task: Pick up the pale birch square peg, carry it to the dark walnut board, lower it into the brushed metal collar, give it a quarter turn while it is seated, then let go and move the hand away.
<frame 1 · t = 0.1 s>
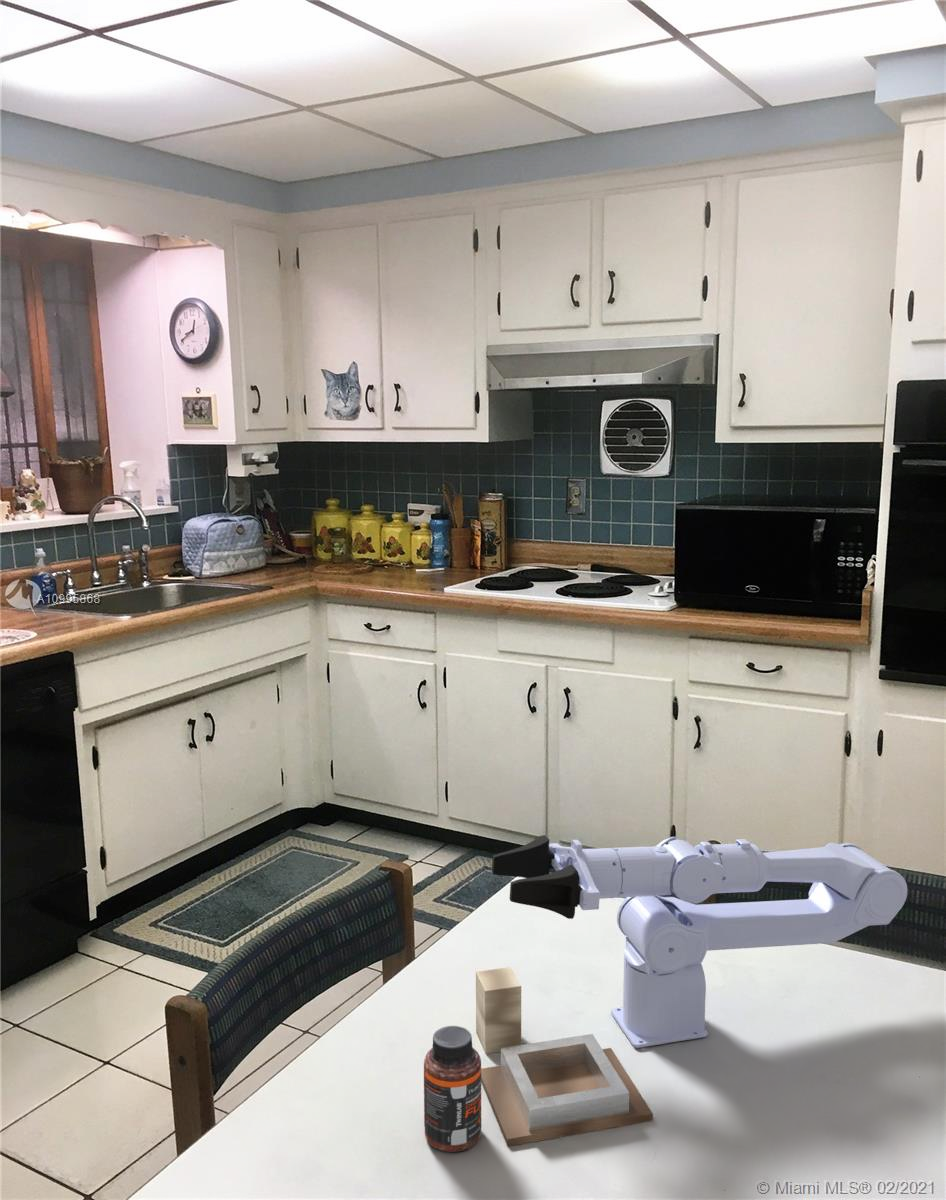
hand: (501, 877, 118), 22 cm above the table, tool horizontal, fingers open, 7 cm apart
supplement bottle: (453, 1137, 107), on the table
peg: (498, 1040, 124), on the table
collar board: (562, 1097, 113), on the table
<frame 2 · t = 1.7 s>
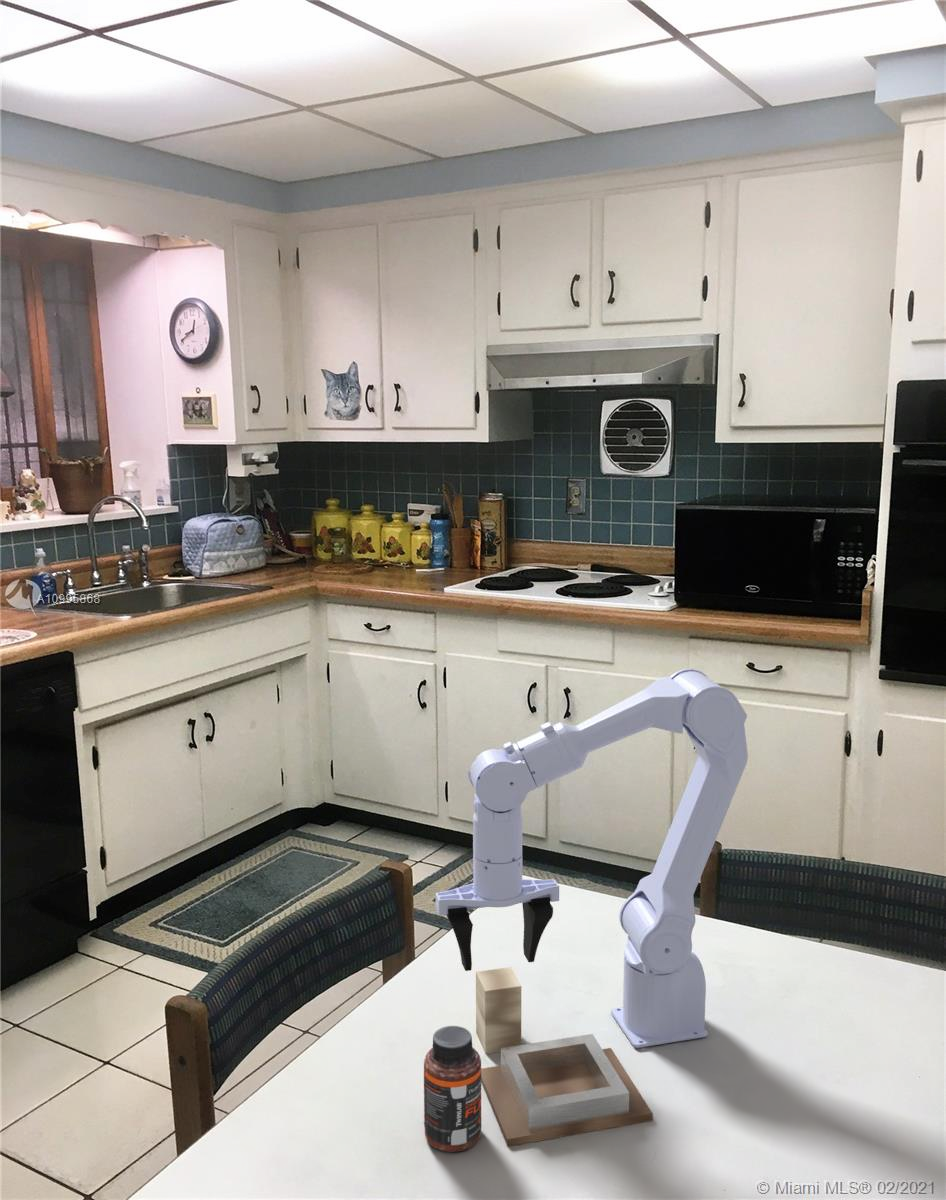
hand: (498, 962, 122), 10 cm above the table, tool pointing down, fingers open, 7 cm apart
nothing on the table moved.
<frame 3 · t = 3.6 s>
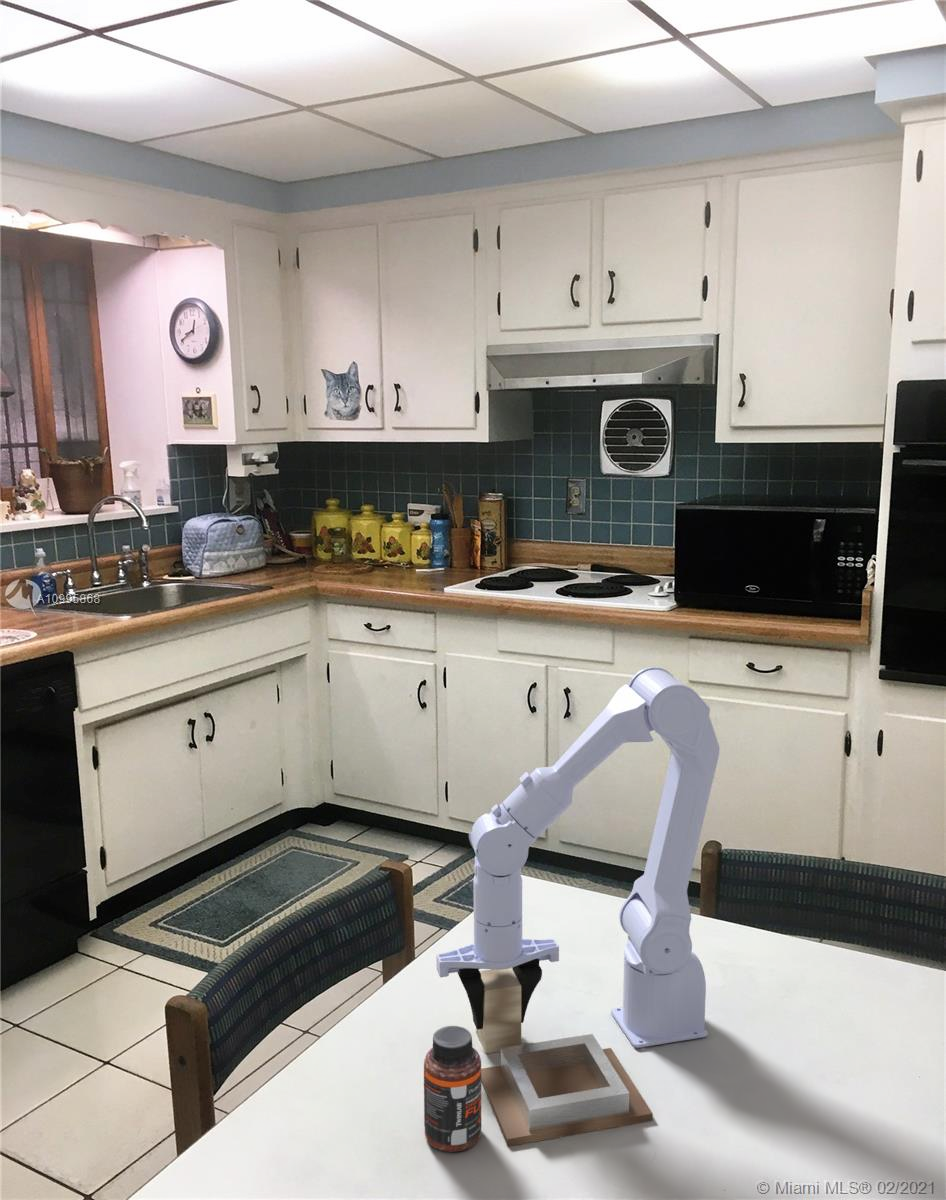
hand: (498, 1021, 123), 2 cm above the table, tool pointing down, fingers closed on peg, 4 cm apart
peg: (498, 1040, 124), on the table, touching gripper
everything else where it was.
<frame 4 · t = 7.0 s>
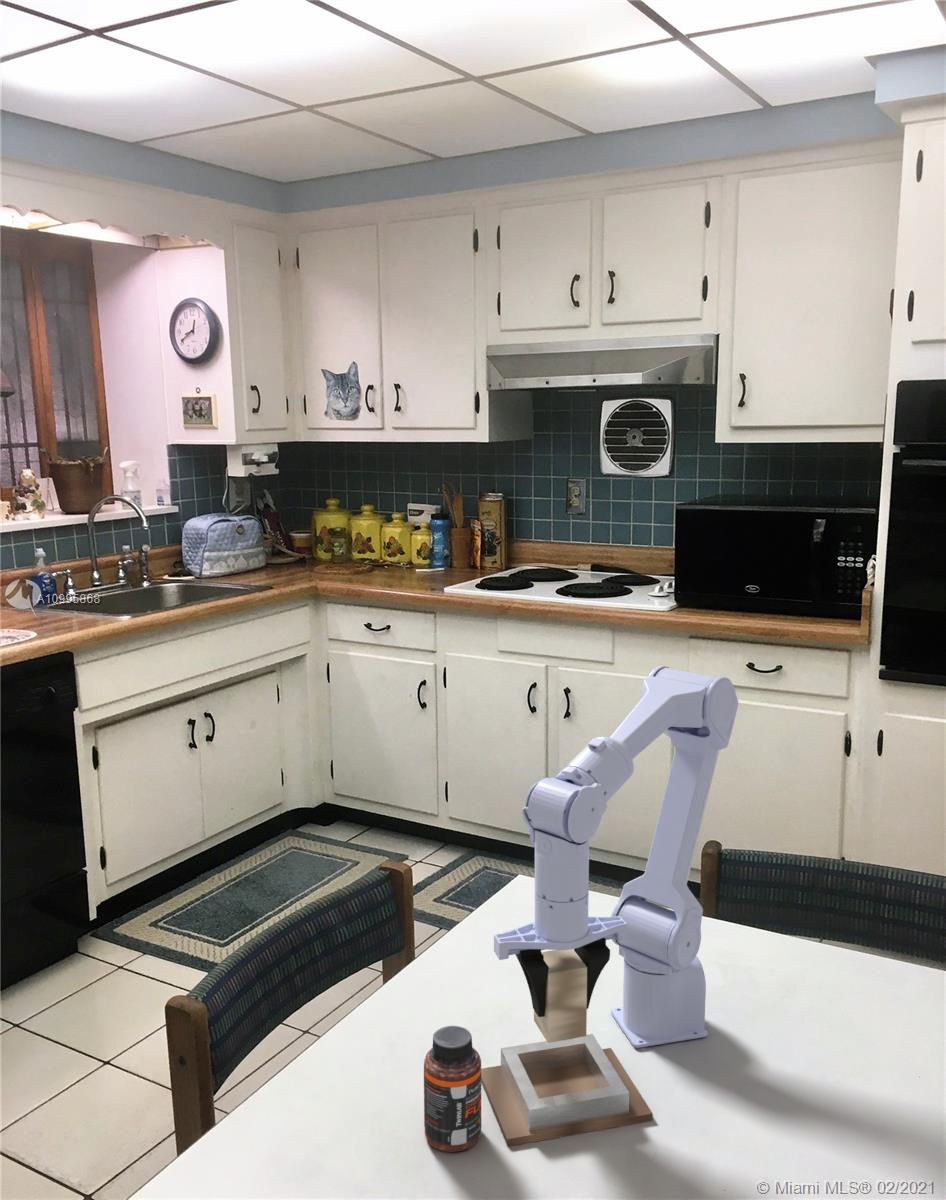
hand: (560, 1008, 112), 10 cm above the table, tool pointing down, fingers closed on peg, 4 cm apart
peg: (559, 1028, 113), point 8 cm above the table, touching gripper
everything else where it was.
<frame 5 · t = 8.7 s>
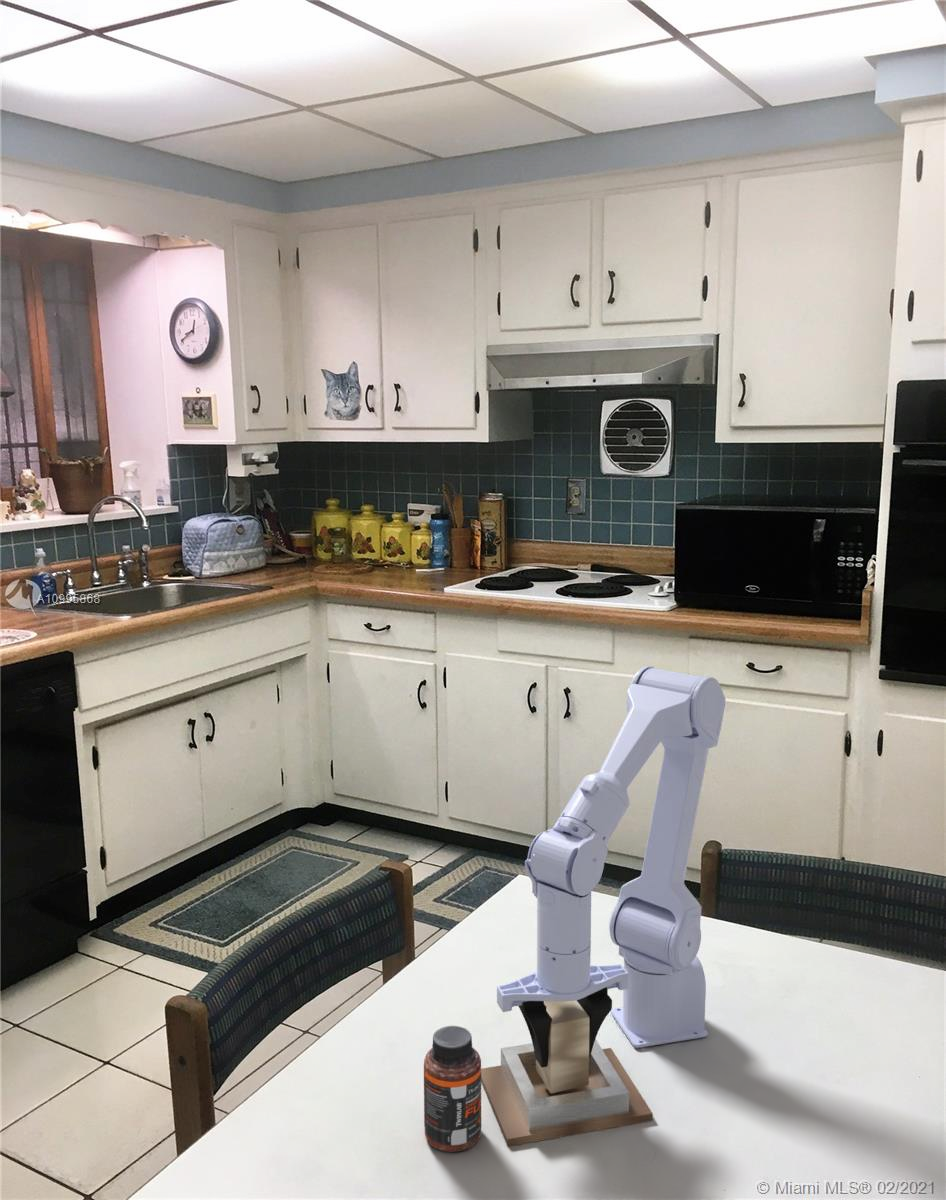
hand: (562, 1057, 113), 5 cm above the table, tool pointing down, fingers closed on peg, 4 cm apart
peg: (561, 1077, 113), point 2 cm above the table, touching gripper
everything else where it was.
when the fingers open (4 cm above the table, at t = 10.5 s): peg stays where it is, resting on collar board.
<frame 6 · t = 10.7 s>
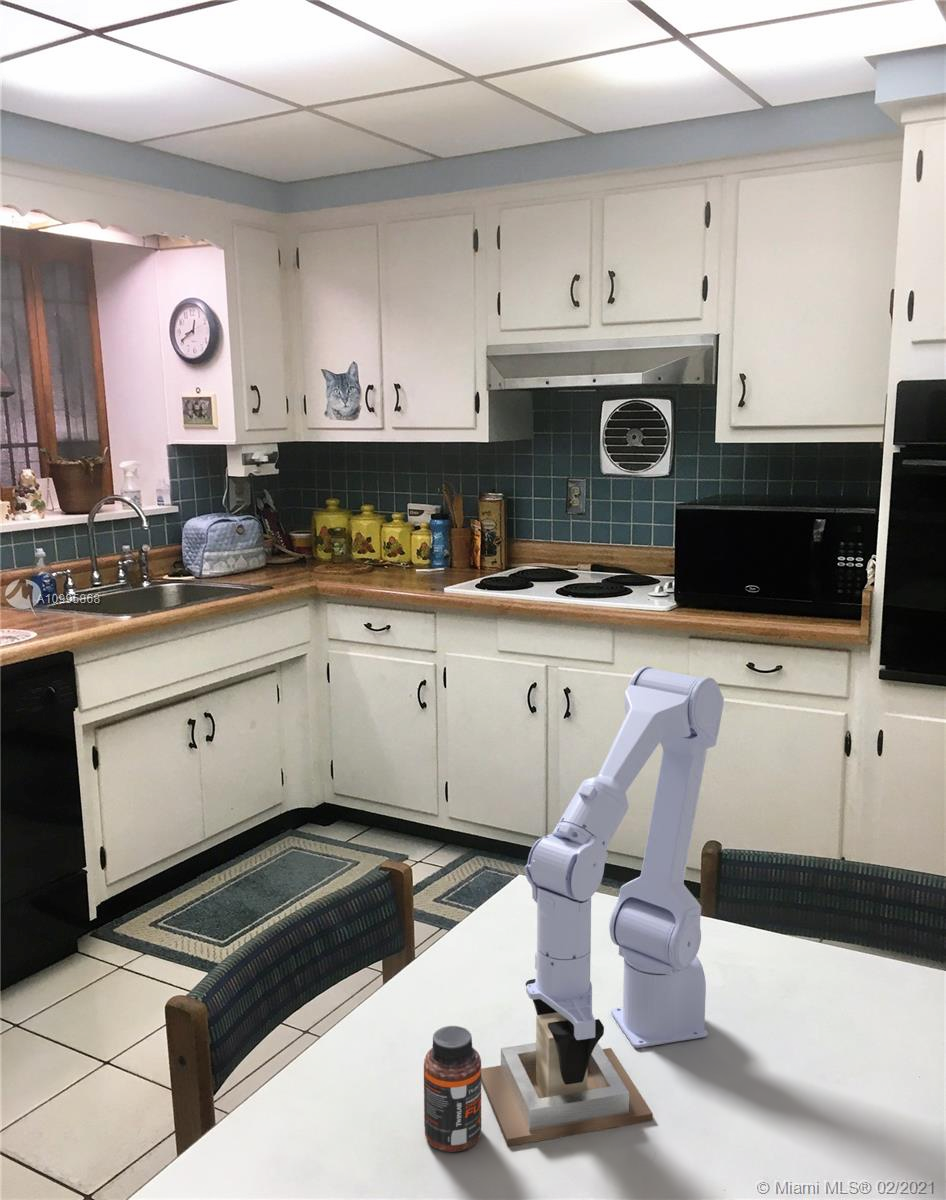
hand: (562, 1062, 113), 4 cm above the table, tool pointing down, fingers open, 6 cm apart
peg: (561, 1090, 113), point 1 cm above the table, touching collar board
everything else where it was.
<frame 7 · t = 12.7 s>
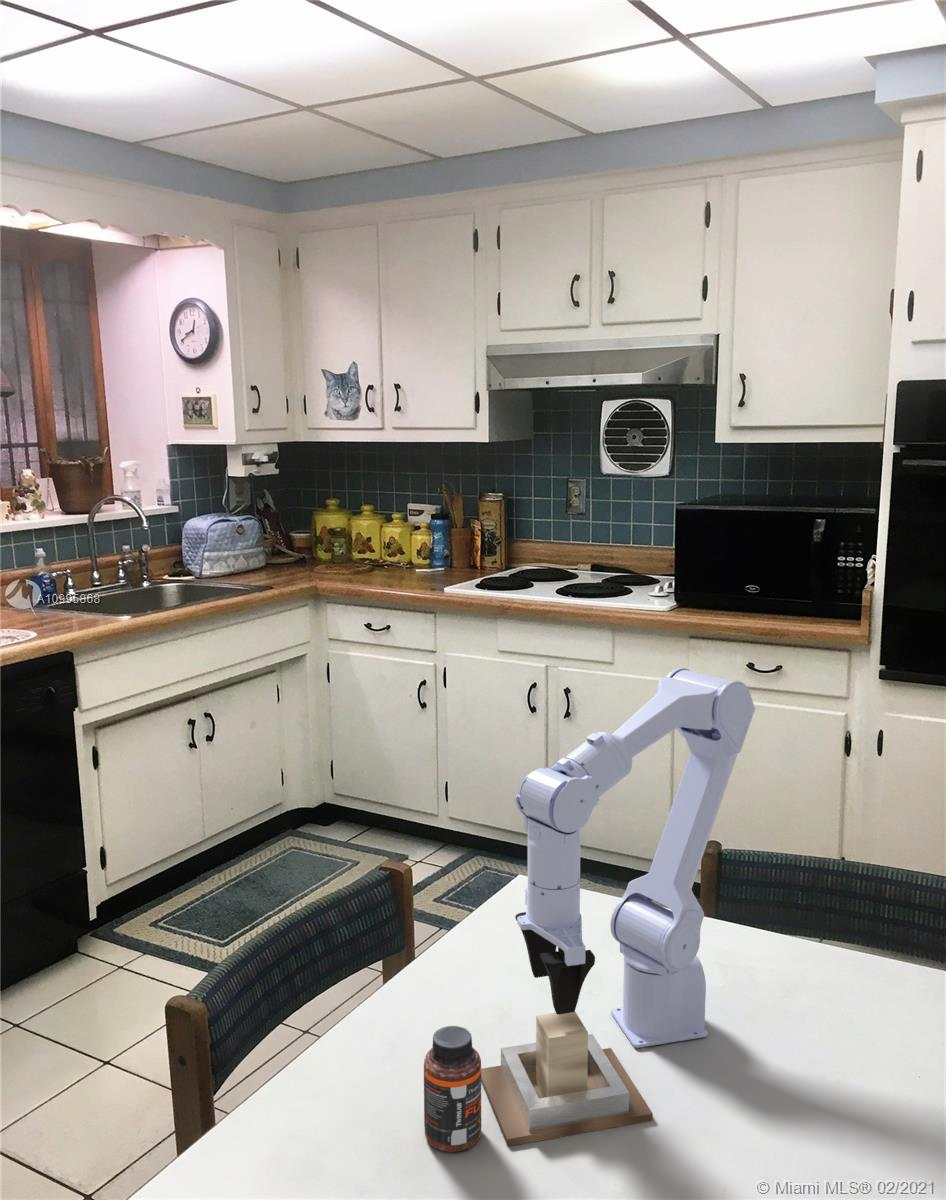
hand: (553, 992, 115), 10 cm above the table, tool pointing down, fingers open, 7 cm apart
nothing on the table moved.
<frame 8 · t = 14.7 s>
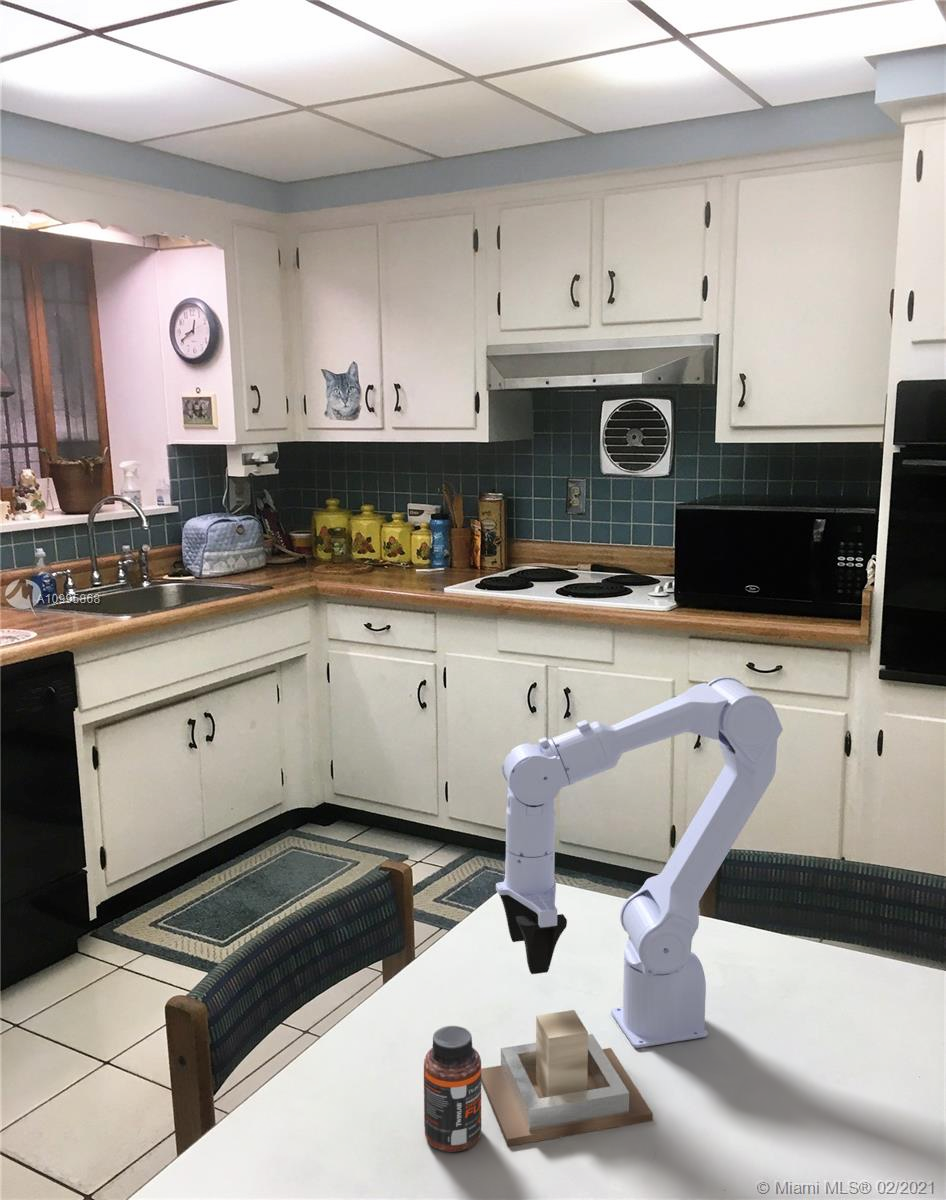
hand: (529, 955, 123), 10 cm above the table, tool pointing down, fingers open, 7 cm apart
nothing on the table moved.
at the end: peg 0.2 cm off-centre on the collar board, point 0.8 cm above the collar board's base; peg tilted 0°; the gripper is holding nothing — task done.
